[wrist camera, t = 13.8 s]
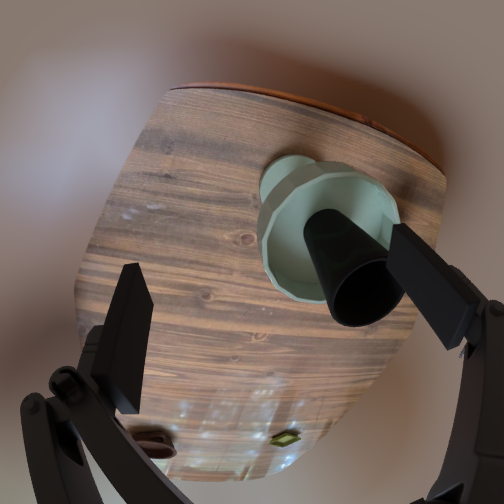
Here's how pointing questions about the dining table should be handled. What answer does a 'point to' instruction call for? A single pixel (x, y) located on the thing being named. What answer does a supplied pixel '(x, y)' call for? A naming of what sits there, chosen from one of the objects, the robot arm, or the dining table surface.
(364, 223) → the bowl
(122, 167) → the dining table surface
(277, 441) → the green square tray
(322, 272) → the cup
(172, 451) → the dish
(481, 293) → the robot arm
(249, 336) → the dining table surface
